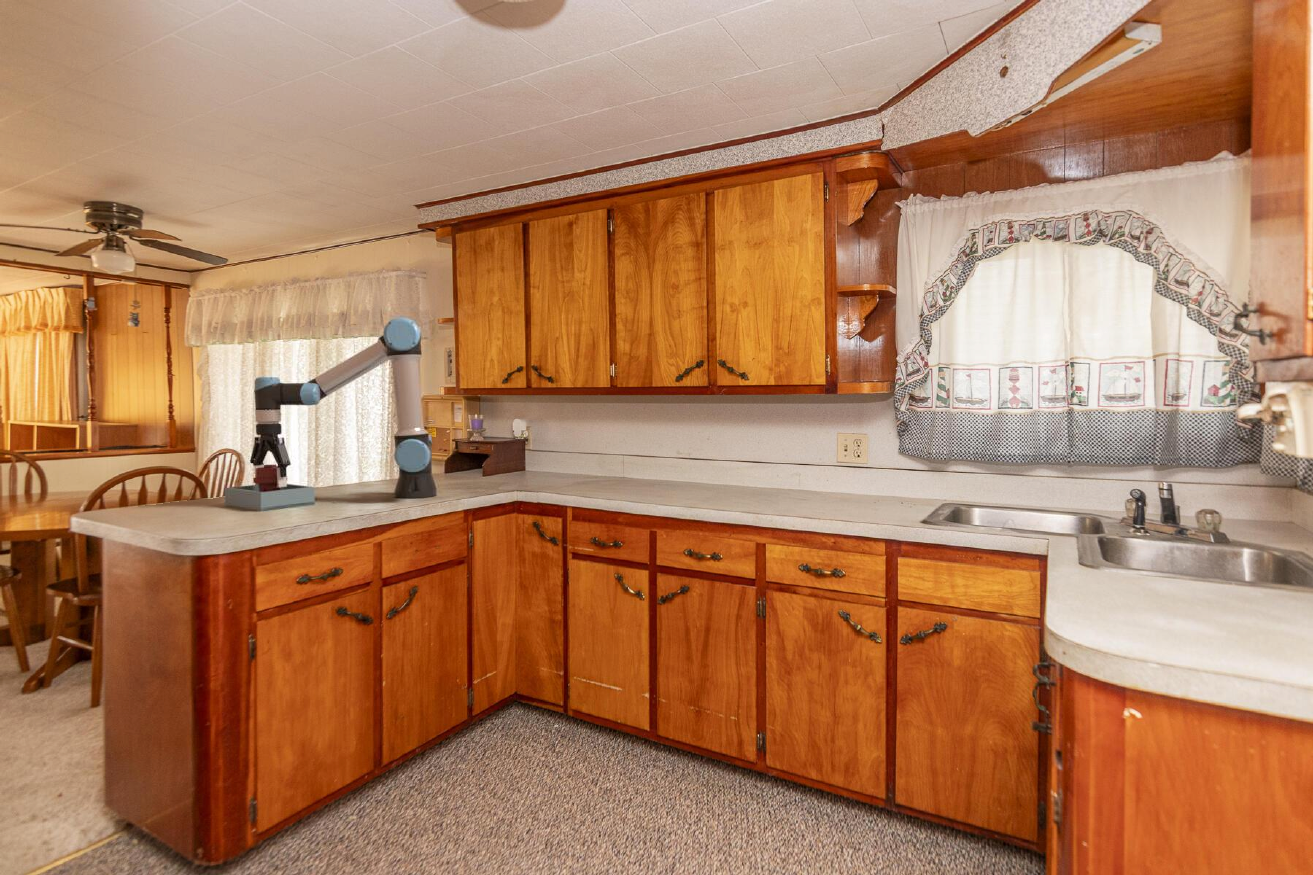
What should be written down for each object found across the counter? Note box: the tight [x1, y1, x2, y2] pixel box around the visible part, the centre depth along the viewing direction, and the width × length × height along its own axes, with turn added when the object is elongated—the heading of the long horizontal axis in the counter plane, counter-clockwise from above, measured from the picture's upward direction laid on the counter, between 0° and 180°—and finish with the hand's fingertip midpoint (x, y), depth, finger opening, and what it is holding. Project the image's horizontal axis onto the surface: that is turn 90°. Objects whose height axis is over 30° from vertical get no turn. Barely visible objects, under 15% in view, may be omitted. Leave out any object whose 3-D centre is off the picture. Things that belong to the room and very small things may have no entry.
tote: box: [224, 483, 315, 512], centre depth 232 cm, size 22×18×6 cm
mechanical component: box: [252, 464, 282, 492], centre depth 231 cm, size 12×10×10 cm
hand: (270, 485), depth 232 cm, fingers open, 13 cm apart
